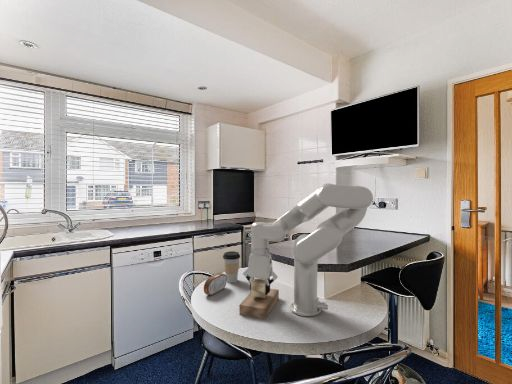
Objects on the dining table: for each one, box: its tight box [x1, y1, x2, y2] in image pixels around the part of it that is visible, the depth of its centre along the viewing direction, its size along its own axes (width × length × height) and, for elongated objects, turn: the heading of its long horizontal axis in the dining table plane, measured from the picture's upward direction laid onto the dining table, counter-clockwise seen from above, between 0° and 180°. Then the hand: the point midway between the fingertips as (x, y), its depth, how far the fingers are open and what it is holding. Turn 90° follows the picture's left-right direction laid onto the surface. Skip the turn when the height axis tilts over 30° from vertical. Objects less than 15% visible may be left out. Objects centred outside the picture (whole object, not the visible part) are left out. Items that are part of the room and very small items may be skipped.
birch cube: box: [250, 278, 266, 298], centre depth 122 cm, size 6×6×6 cm
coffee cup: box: [222, 250, 241, 284], centre depth 152 cm, size 9×9×15 cm
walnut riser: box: [238, 288, 280, 320], centre depth 123 cm, size 11×20×4 cm, turn 160°
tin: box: [203, 272, 228, 296], centre depth 137 cm, size 15×3×8 cm, turn 149°
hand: (259, 292), depth 122 cm, fingers closed on birch cube, 6 cm apart
